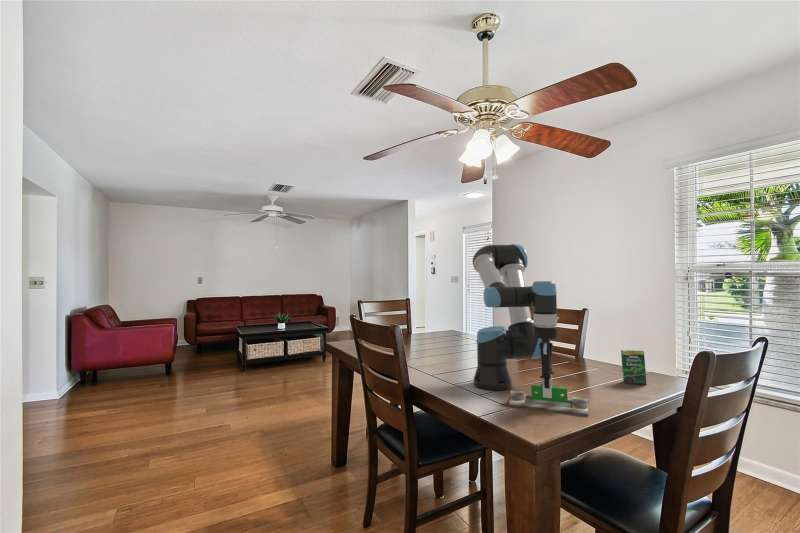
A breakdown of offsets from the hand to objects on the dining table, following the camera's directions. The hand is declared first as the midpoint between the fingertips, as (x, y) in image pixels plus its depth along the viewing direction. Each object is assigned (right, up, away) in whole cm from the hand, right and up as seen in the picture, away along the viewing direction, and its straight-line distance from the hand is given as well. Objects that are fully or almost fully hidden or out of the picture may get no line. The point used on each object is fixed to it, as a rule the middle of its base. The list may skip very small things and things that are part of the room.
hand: (547, 395), depth 124 cm
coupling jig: (0, -4, 0) cm, 4 cm away
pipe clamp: (+1, -1, 0) cm, 2 cm away
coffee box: (+45, -4, +24) cm, 51 cm away
